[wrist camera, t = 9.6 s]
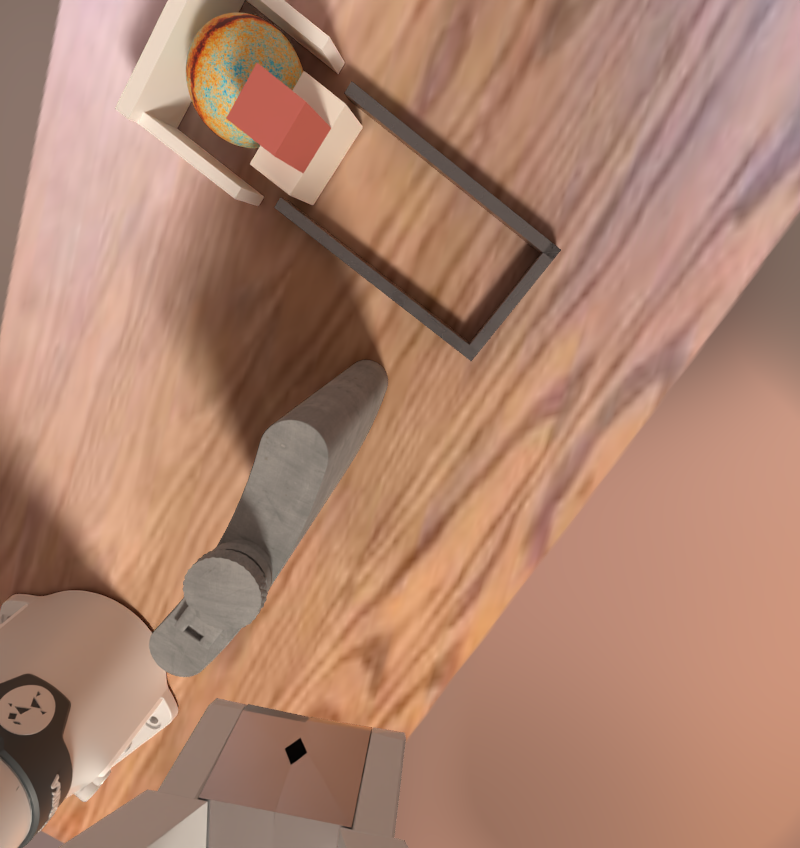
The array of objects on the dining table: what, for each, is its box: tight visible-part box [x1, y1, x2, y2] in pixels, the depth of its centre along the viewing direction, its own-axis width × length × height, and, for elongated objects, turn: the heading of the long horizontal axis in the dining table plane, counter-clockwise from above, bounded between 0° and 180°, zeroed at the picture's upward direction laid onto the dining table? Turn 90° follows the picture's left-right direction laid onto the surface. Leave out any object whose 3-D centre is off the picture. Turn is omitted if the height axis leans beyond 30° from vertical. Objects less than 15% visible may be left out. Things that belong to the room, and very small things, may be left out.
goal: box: [115, 0, 345, 207], centre depth 34 cm, size 11×8×5 cm
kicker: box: [226, 63, 363, 205], centre depth 32 cm, size 6×3×10 cm, turn 143°
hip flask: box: [149, 360, 388, 677], centre depth 33 cm, size 16×4×20 cm, turn 149°
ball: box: [186, 12, 303, 148], centre depth 33 cm, size 7×7×7 cm
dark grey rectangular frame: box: [274, 81, 561, 361], centre depth 37 cm, size 9×17×2 cm, turn 53°
